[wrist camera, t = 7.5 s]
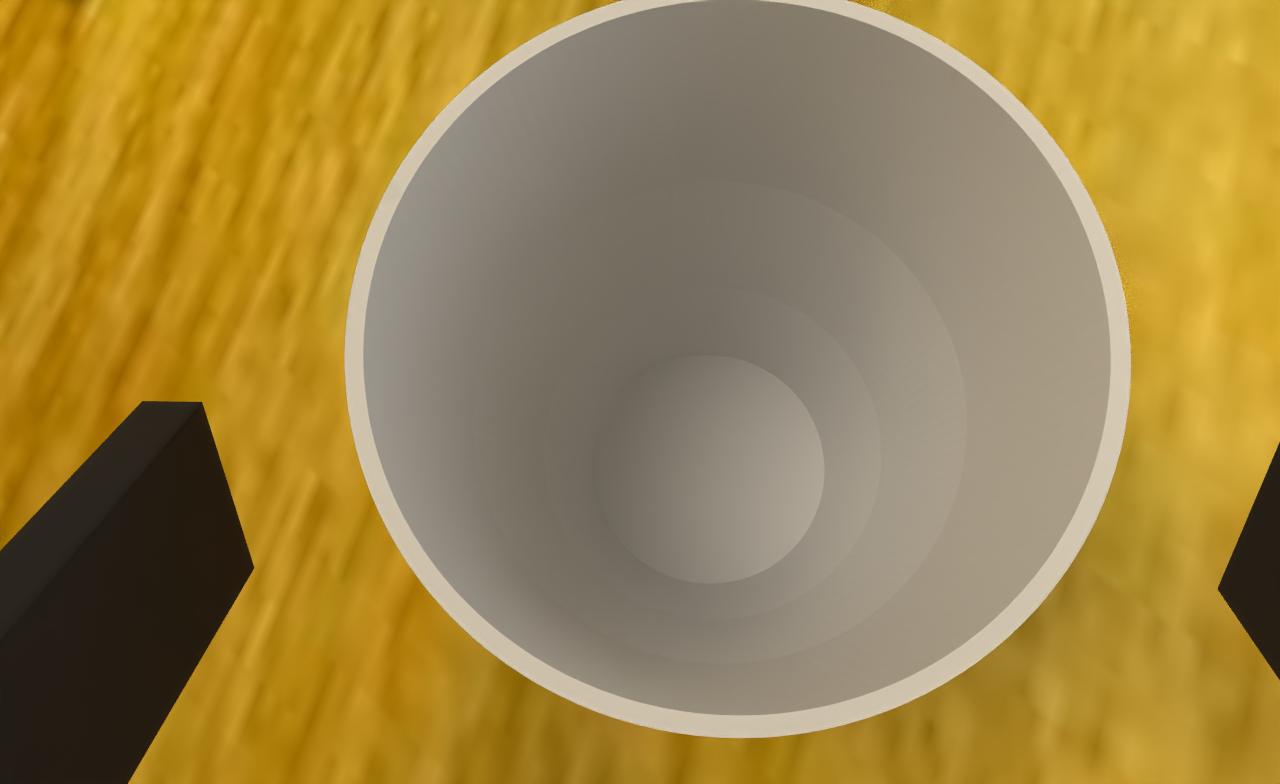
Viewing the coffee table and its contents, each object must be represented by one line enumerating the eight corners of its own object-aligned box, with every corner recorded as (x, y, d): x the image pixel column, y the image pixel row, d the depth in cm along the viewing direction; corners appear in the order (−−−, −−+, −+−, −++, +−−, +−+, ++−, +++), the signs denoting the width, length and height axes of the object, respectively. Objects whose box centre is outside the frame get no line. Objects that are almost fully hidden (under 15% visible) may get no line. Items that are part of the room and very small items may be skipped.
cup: (941, 635, 18) (1235, 666, 9) (539, 698, 18) (376, 801, 9) (857, 257, 20) (1019, -69, 10) (492, 315, 20) (317, 45, 11)
